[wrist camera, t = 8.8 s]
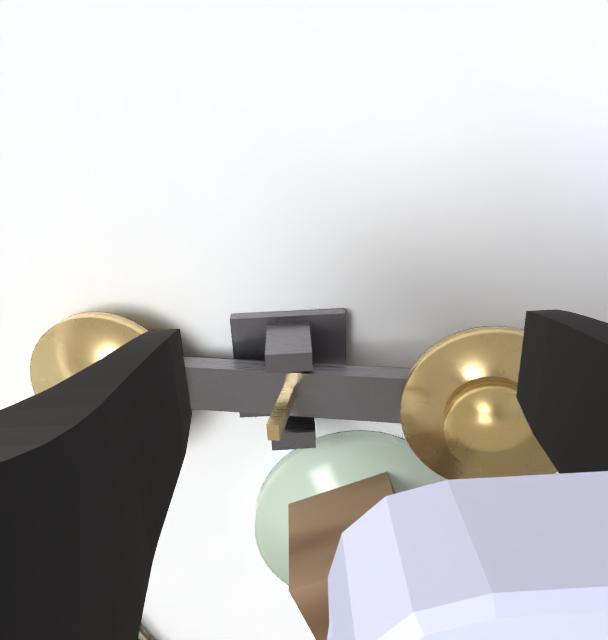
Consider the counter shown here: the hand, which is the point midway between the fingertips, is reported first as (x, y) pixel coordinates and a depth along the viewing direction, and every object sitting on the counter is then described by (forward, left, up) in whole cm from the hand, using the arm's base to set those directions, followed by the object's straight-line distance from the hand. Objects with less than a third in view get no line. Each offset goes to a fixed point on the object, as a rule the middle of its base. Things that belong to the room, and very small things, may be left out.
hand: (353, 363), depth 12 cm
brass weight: (-5, +5, -5) cm, 9 cm away
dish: (-1, +13, -10) cm, 16 cm away
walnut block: (-1, +13, -9) cm, 16 cm away
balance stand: (+1, +5, -10) cm, 11 cm away
